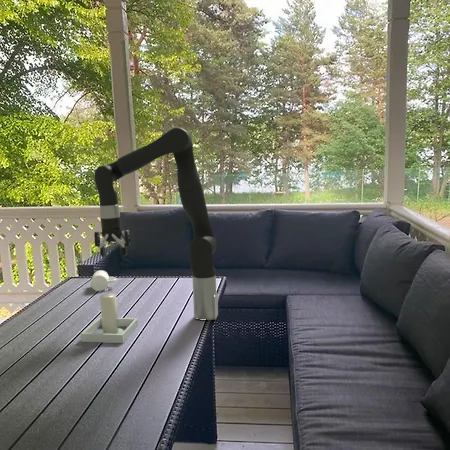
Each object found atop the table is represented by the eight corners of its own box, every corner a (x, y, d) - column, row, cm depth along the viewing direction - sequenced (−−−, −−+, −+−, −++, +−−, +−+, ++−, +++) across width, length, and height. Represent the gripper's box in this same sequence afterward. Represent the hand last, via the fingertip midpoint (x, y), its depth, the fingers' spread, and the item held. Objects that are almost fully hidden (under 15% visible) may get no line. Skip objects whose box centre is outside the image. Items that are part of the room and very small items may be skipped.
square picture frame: (138, 325, 170) (137, 318, 169) (123, 343, 155) (122, 335, 154) (99, 324, 172) (99, 317, 172) (81, 341, 157) (80, 333, 156)
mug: (91, 291, 215) (90, 276, 214) (93, 286, 224) (92, 270, 223) (116, 289, 217) (115, 274, 216) (117, 284, 227) (116, 269, 225)
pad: (126, 329, 167) (126, 328, 167) (117, 338, 158) (117, 337, 158) (104, 328, 168) (104, 327, 168) (94, 338, 160) (94, 337, 159)
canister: (120, 329, 166) (118, 293, 163) (115, 335, 160) (112, 298, 158) (106, 329, 166) (103, 293, 164) (100, 335, 161) (97, 298, 159)
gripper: (89, 218, 172) (93, 259, 174) (123, 216, 169) (127, 258, 172) (97, 215, 179) (101, 255, 181) (130, 214, 177) (134, 254, 179)
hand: (114, 256), depth 177 cm, fingers open, 8 cm apart
